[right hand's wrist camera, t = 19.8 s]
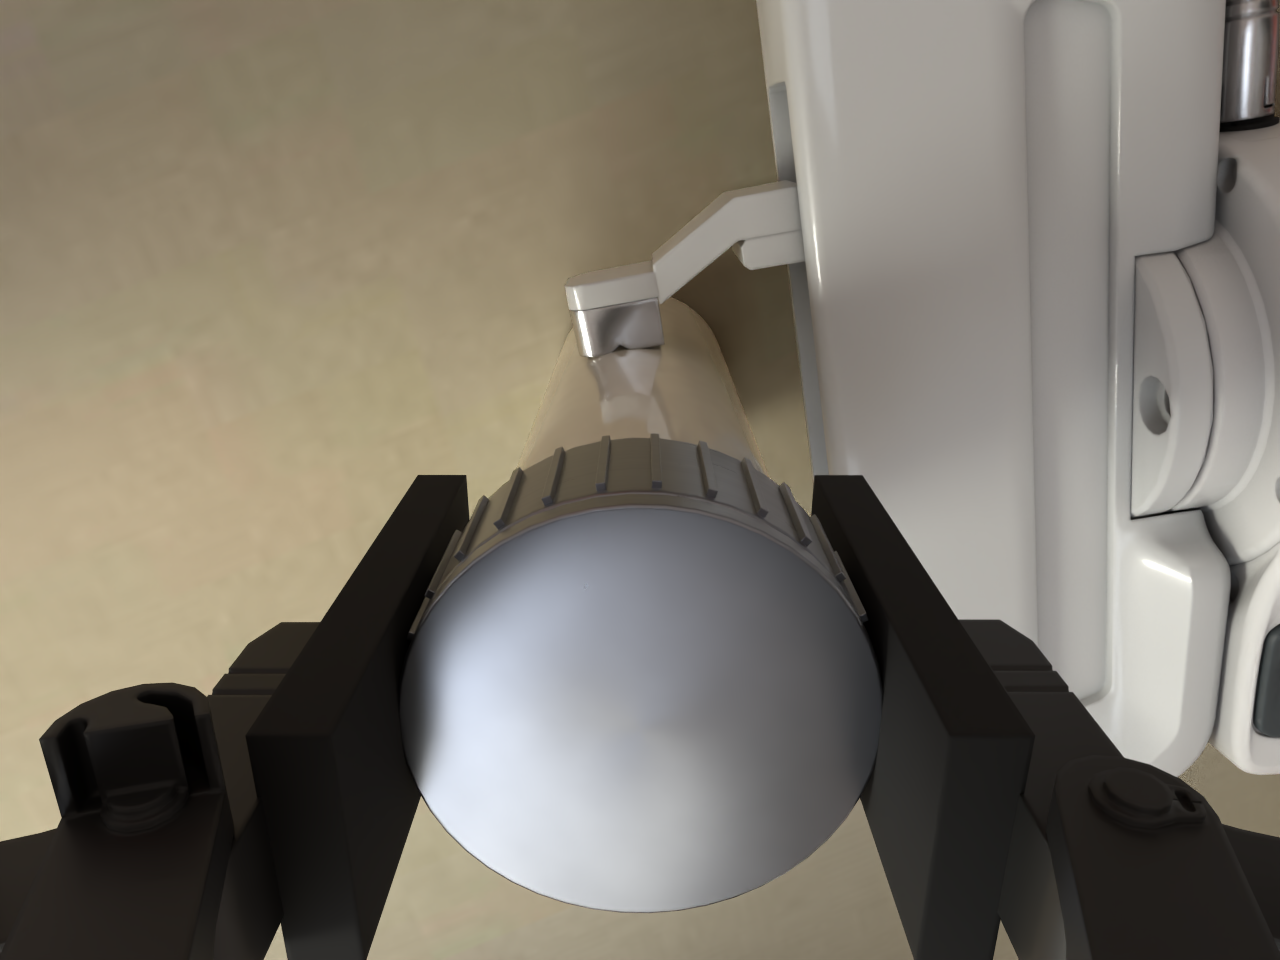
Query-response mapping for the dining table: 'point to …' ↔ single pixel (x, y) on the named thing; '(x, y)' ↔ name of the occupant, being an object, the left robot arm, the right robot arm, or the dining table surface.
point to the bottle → (645, 394)
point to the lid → (640, 680)
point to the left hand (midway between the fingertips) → (601, 455)
